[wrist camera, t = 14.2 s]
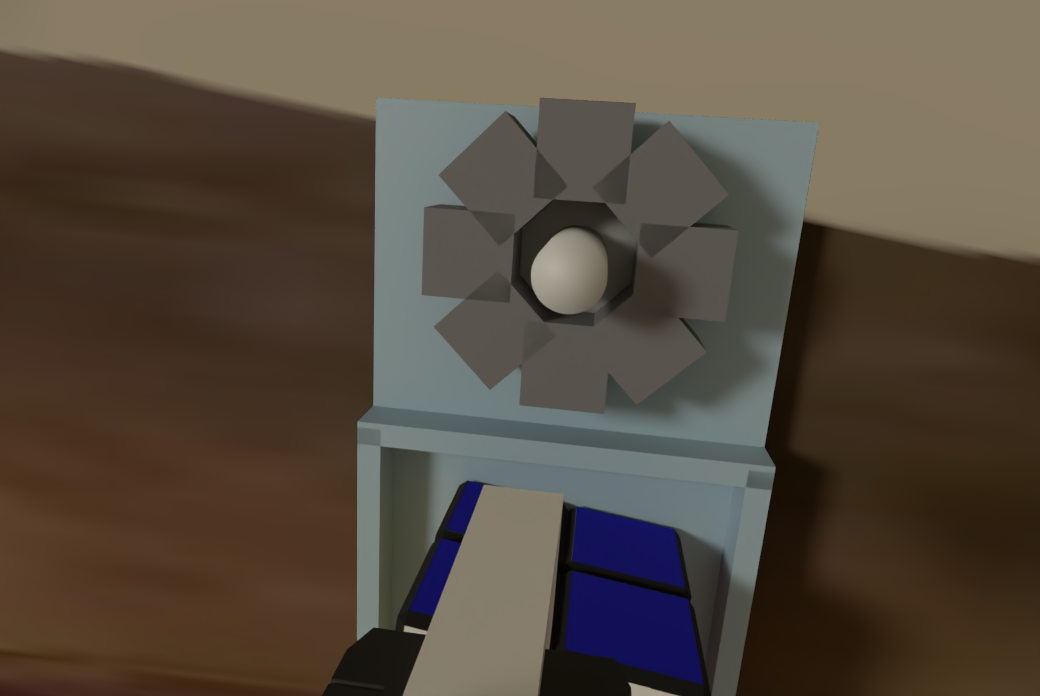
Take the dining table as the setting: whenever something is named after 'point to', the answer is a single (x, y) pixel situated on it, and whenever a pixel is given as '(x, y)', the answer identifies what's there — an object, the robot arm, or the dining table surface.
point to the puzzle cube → (595, 595)
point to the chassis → (624, 425)
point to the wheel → (641, 209)
